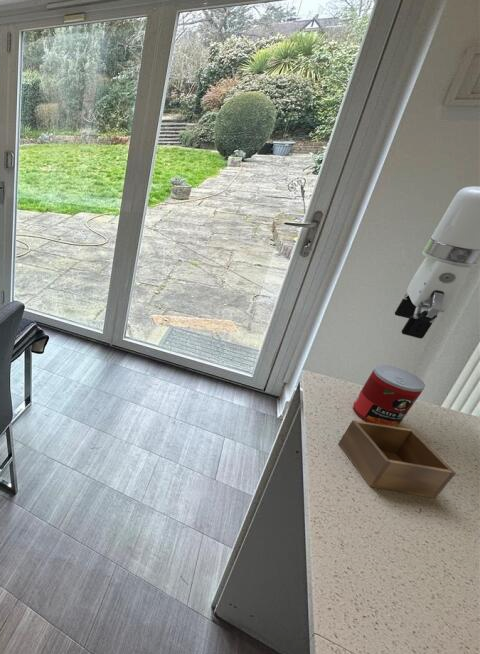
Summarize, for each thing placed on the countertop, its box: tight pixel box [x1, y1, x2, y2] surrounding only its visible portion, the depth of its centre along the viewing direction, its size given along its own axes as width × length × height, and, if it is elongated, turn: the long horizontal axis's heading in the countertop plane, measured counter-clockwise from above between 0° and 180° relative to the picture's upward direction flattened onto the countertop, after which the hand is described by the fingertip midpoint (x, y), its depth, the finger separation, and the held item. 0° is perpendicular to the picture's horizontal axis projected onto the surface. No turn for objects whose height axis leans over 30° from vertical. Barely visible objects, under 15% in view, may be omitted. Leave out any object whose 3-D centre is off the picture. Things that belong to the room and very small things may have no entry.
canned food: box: [352, 364, 426, 427], centre depth 87 cm, size 8×8×11 cm
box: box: [338, 420, 457, 499], centre depth 75 cm, size 10×10×6 cm
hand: (407, 325), depth 87 cm, fingers open, 9 cm apart
